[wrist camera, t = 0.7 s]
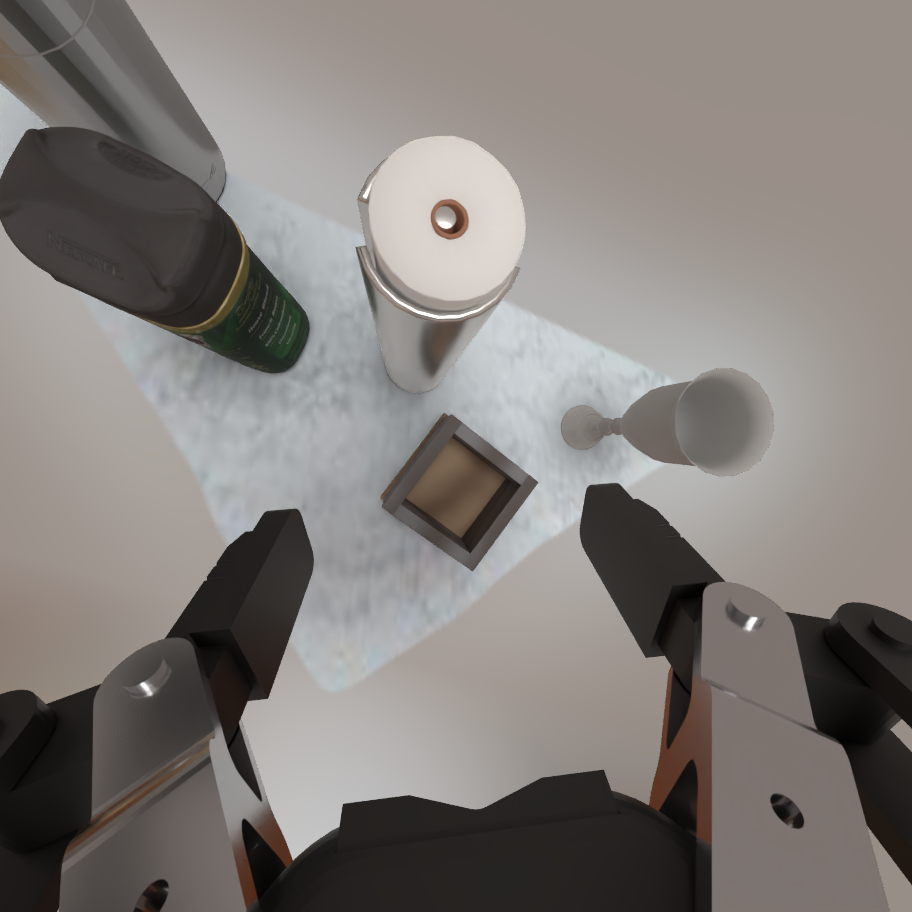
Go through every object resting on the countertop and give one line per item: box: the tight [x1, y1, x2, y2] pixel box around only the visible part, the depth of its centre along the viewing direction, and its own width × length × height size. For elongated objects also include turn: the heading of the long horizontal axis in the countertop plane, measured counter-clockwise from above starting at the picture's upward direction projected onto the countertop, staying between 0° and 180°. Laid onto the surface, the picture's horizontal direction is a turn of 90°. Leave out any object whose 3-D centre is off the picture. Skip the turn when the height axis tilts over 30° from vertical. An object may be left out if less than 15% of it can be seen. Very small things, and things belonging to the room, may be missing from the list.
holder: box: [381, 413, 538, 571], centre depth 35 cm, size 11×11×6 cm
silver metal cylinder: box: [356, 136, 526, 393], centre depth 24 cm, size 6×6×25 cm
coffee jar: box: [0, 127, 309, 373], centre depth 25 cm, size 10×8×19 cm
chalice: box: [561, 368, 774, 476], centre depth 31 cm, size 7×7×18 cm
